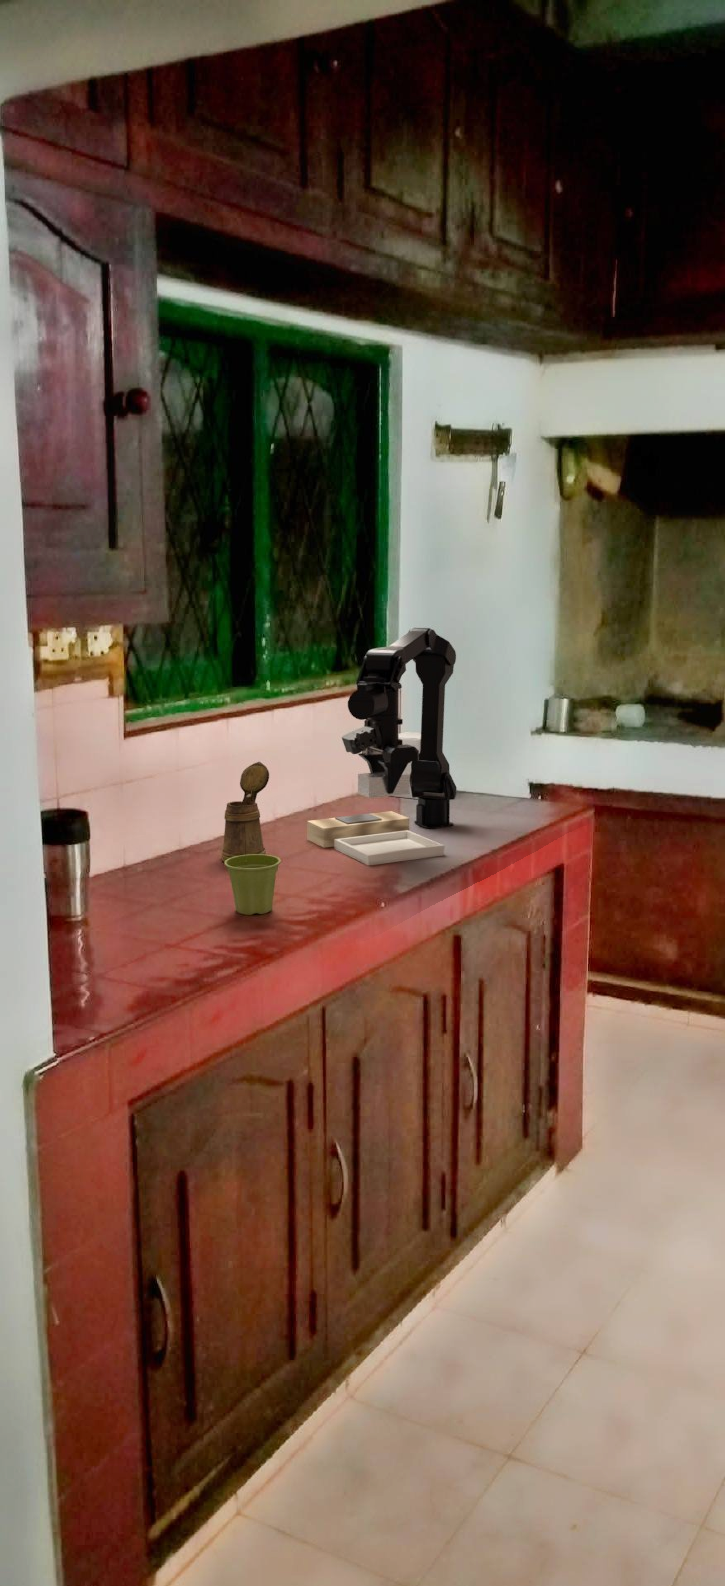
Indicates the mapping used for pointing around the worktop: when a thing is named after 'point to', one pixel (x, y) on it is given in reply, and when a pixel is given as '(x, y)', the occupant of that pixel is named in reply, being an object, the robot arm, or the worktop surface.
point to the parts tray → (388, 847)
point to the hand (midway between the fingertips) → (384, 791)
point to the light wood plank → (354, 827)
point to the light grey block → (381, 785)
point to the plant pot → (253, 882)
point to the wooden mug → (245, 816)
